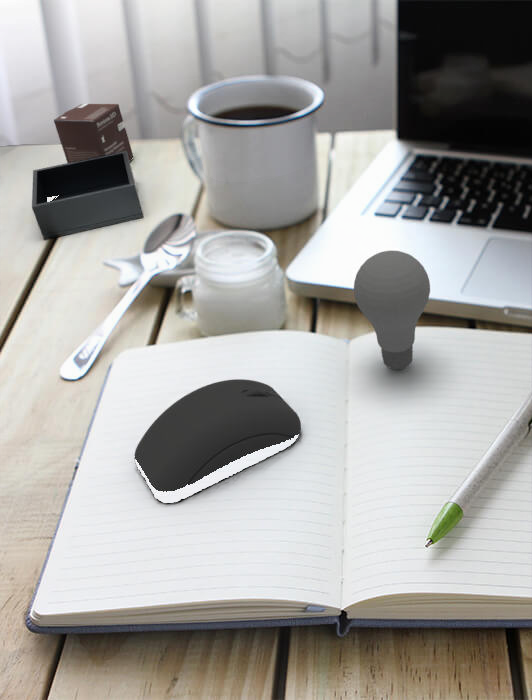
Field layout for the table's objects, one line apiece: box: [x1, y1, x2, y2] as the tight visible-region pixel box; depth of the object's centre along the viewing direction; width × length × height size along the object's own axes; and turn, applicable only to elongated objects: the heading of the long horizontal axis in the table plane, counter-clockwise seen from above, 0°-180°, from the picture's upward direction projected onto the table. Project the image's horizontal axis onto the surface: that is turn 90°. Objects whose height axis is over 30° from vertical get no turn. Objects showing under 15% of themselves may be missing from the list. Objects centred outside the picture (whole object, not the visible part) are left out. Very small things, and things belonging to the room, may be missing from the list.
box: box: [53, 103, 134, 163], centre depth 100 cm, size 6×6×7 cm
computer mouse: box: [134, 378, 302, 492], centre depth 55 cm, size 6×11×4 cm, turn 122°
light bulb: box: [353, 250, 431, 370], centre depth 59 cm, size 6×6×10 cm
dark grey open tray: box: [31, 151, 144, 241], centre depth 90 cm, size 11×11×4 cm
